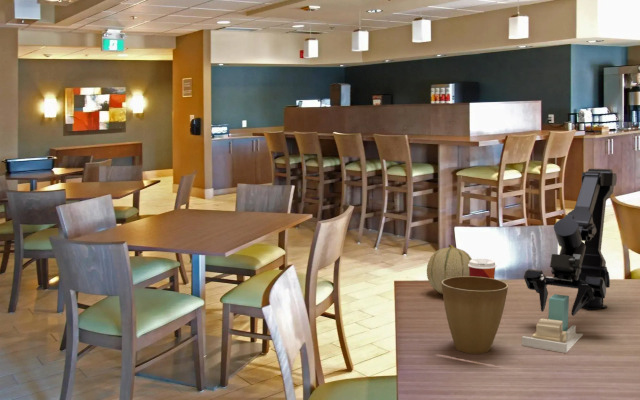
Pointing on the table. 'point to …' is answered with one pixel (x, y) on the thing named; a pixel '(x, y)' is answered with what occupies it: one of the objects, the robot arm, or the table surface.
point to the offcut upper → (549, 328)
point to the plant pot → (474, 311)
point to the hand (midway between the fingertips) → (557, 312)
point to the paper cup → (482, 268)
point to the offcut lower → (560, 339)
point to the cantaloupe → (447, 266)
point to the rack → (552, 345)
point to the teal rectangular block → (559, 309)
